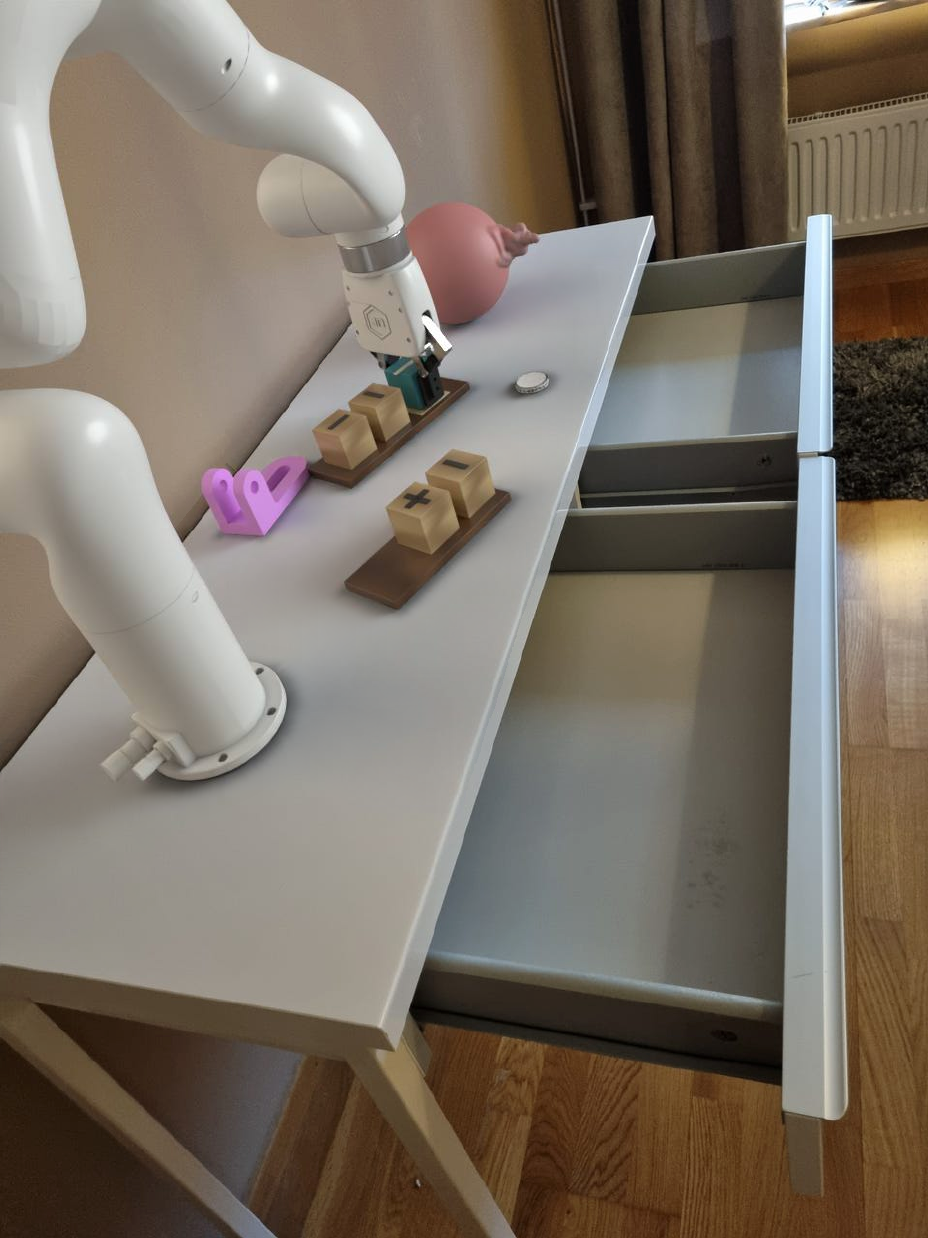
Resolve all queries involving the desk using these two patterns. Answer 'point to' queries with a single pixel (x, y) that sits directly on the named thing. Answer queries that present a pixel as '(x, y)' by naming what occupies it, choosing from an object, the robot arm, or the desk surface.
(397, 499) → the wooden board with cubes
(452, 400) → the far word
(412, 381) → the striped teal cube
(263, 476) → the bracket
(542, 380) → the white flat disc
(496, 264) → the balloon
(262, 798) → the desk surface
